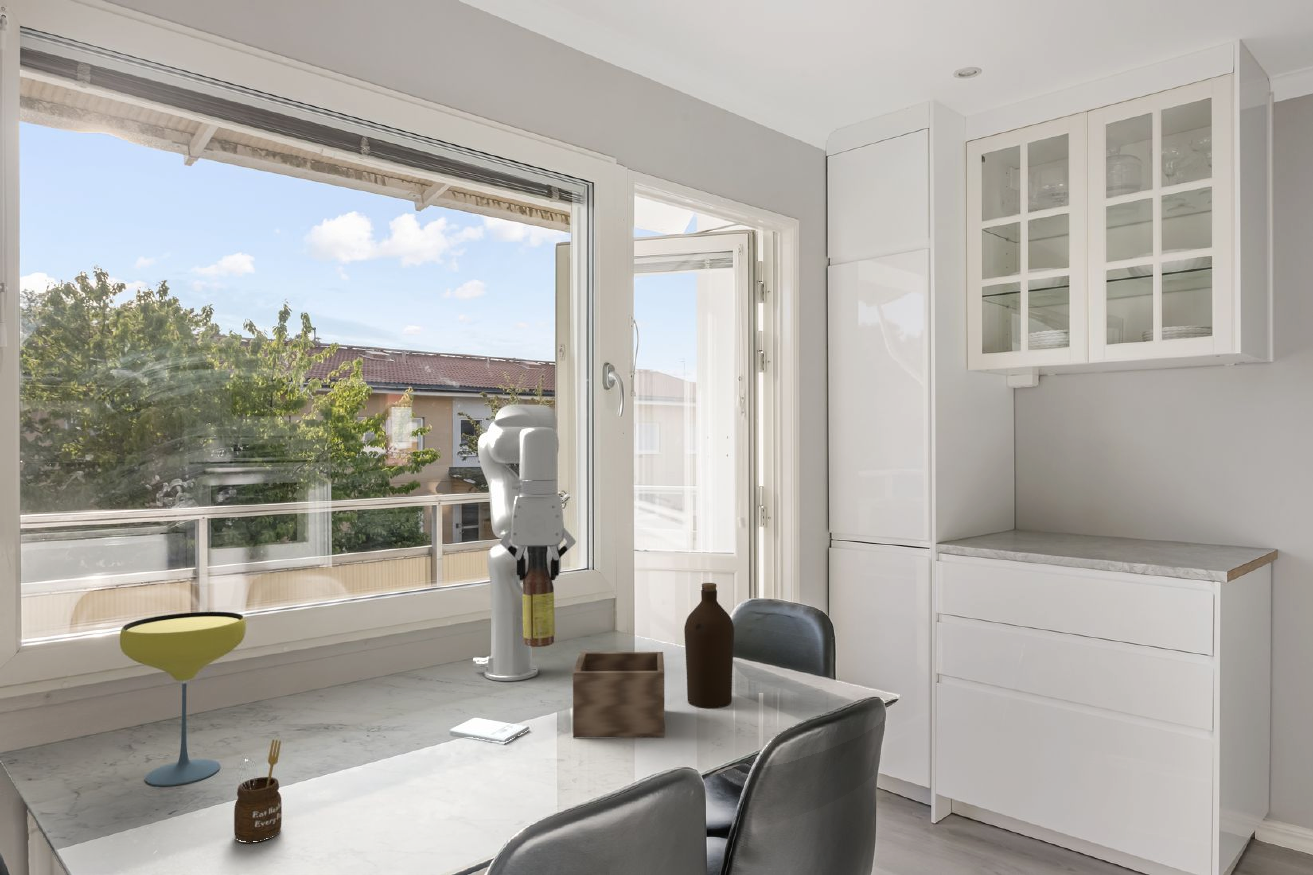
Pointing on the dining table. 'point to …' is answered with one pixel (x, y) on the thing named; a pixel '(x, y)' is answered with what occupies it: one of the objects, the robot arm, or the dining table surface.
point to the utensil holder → (258, 804)
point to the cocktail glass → (182, 668)
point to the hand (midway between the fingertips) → (537, 578)
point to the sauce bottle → (538, 600)
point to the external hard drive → (488, 730)
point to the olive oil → (709, 652)
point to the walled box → (619, 695)
